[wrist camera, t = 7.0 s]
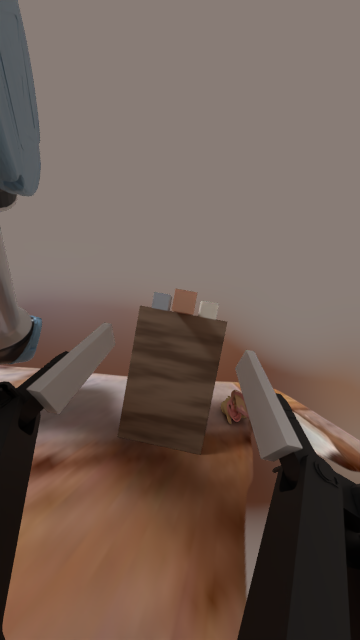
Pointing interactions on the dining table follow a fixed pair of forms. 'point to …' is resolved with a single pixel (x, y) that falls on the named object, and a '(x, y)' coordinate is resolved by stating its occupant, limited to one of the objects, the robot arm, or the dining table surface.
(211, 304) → the cream cube
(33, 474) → the dining table surface
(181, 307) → the terracotta stick
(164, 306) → the slate cube
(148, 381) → the walnut stand
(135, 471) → the dining table surface
